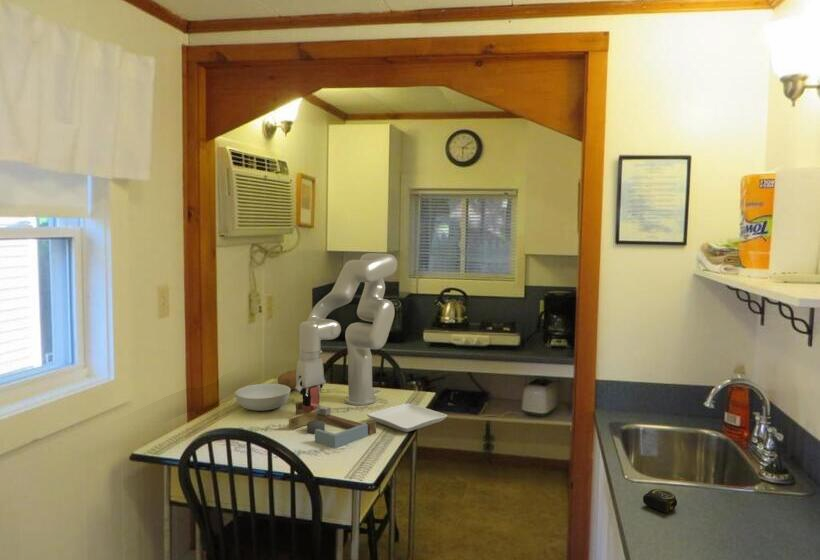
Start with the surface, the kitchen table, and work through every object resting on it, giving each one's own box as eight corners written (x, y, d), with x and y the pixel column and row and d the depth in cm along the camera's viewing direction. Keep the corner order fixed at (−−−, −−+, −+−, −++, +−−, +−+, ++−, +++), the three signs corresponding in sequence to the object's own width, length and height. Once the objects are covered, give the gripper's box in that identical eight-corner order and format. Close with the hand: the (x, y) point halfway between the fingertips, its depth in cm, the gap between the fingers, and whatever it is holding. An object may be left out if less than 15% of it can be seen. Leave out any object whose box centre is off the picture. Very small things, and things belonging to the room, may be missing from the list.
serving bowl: (224, 412, 240) (223, 394, 240) (257, 398, 260) (256, 381, 259) (270, 418, 233) (270, 400, 232) (301, 403, 252) (300, 386, 251)
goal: (347, 430, 219) (347, 418, 219) (367, 436, 213) (367, 424, 213) (314, 441, 207) (314, 429, 207) (335, 448, 201) (335, 436, 201)
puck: (316, 427, 222) (316, 419, 222) (328, 431, 219) (328, 422, 218) (303, 431, 218) (303, 423, 218) (315, 435, 214) (315, 427, 214)
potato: (271, 391, 269) (271, 372, 269) (295, 384, 281) (295, 366, 280) (287, 395, 264) (287, 376, 263) (311, 387, 275) (311, 369, 274)
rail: (301, 411, 240) (301, 401, 240) (375, 433, 216) (375, 421, 216) (295, 413, 238) (295, 403, 237) (369, 435, 214) (369, 423, 213)
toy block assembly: (311, 413, 237) (311, 384, 236) (332, 418, 230) (331, 389, 229) (275, 424, 224) (274, 394, 223) (295, 430, 217) (295, 399, 216)
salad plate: (449, 423, 228) (449, 413, 227) (406, 437, 213) (406, 427, 212) (407, 410, 243) (407, 402, 242) (365, 423, 228) (365, 413, 228)
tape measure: (641, 506, 160) (641, 492, 160) (657, 499, 164) (658, 485, 164) (665, 517, 155) (665, 502, 154) (681, 509, 159) (682, 495, 158)
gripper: (320, 350, 241) (321, 397, 243) (285, 357, 228) (286, 407, 230) (334, 353, 236) (334, 401, 238) (299, 360, 224) (300, 411, 225)
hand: (311, 403), depth 234 cm, fingers closed on toy block assembly, 4 cm apart
